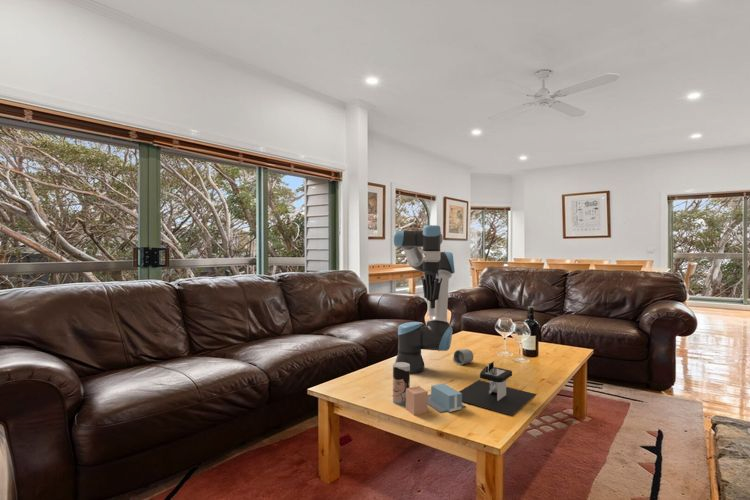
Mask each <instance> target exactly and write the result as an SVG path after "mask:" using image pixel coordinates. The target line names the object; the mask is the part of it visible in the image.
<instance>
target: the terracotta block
mask: <svg viewBox="0 0 750 500" xmlns="http://www.w3.org/2000/svg"><path fill="white" fill-rule="evenodd" d="M428 395H429V393H428V390H426V389H424V388H423V387H421V386H413V387H410V388H407V389H406V405H405V411H408V412H409V413H410V414H411V415H413V416H417V415H421V414H426V413H428V410H429V409H428V406H429V405H428Z"/></svg>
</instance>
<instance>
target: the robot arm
mask: <svg viewBox="0 0 750 500" xmlns="http://www.w3.org/2000/svg"><path fill="white" fill-rule="evenodd" d="M441 231H442V230H441V226H440V225H436V224H435V225H432V224H431V225H430V224H429V225H427V224H426V225H423V229H422V230H403V229H402V230H395V231H394V233H393V244H394V247H397V248H402V250H403V252H404V254H405V256H406V262H407V264H408V265H409V266H410V267H411V268H412V269H414V270H416V271H418V272H421V273H424V275H421V276H420V278H421V281H422V288H423V289H422V290H423V298H424V299H425V300H426V303H427V305H426V306H427V316H429V320H427V321H426V325H422V324H423V323H422V322H421V321H410V322H404V323H401V324H400V325H398V328H397V355H396V358H395V362H394V363H397V362H405V363H409V364H410V375H412V374H413V375H414V374H419V373H423V372H424V371H425V368H426V367H425V361H424V359H423V356H422V355H423V354H422V350H424V351H425V350H426V351H438V352H440V351H441V352H443V351H445V352H446V351H448V350H449V349H450V347H451V343H452V337H453V327H451V326H450V322H449V321H448V304H449V303H448V302H449V281H450V279H451V278H452V276H453V274H455V272H456V271H455V262H454V260H455V259H454V255H453V254H454V253H452V252H451V251H441V245H442V243H443V234H442V232H441ZM420 248H422V250H421V249H420Z"/></svg>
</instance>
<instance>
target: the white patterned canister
mask: <svg viewBox="0 0 750 500" xmlns="http://www.w3.org/2000/svg"><path fill="white" fill-rule="evenodd" d="M410 376H411V374H410V364H409V363H405V362H397V363H395V362H394V363H393V364H392V403H393V404H395V405H397V406H398V405H399V406H406V389H407V388H411V387H410V385H411V377H410Z"/></svg>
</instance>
